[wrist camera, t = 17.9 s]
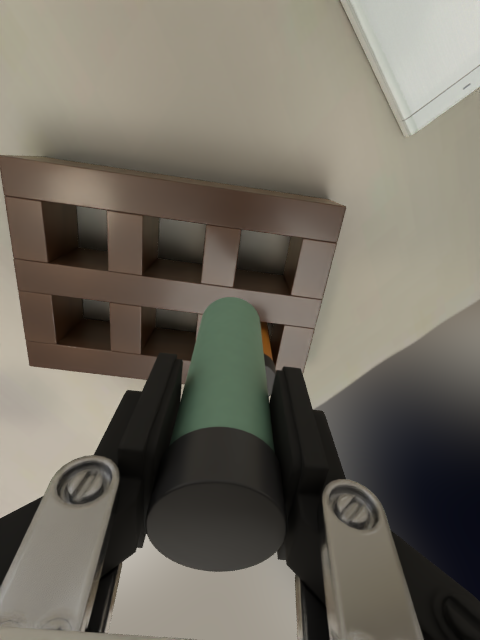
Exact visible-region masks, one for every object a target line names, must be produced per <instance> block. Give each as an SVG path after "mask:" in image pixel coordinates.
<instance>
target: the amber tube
mask: <svg viewBox="0 0 480 640" xmlns="http://www.w3.org/2000/svg"><path fill="white" fill-rule="evenodd" d="M260 325H261V334H262V343H263V352H264V361H265V370H266V379H267V388H268V397H269V396H270V395H271V393H272V388H273V383H274V379H275V374H276V369H275V364H274V362H273V359H272V352H271V346H270V339H269V332H268V326H267V322H260Z"/></svg>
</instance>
